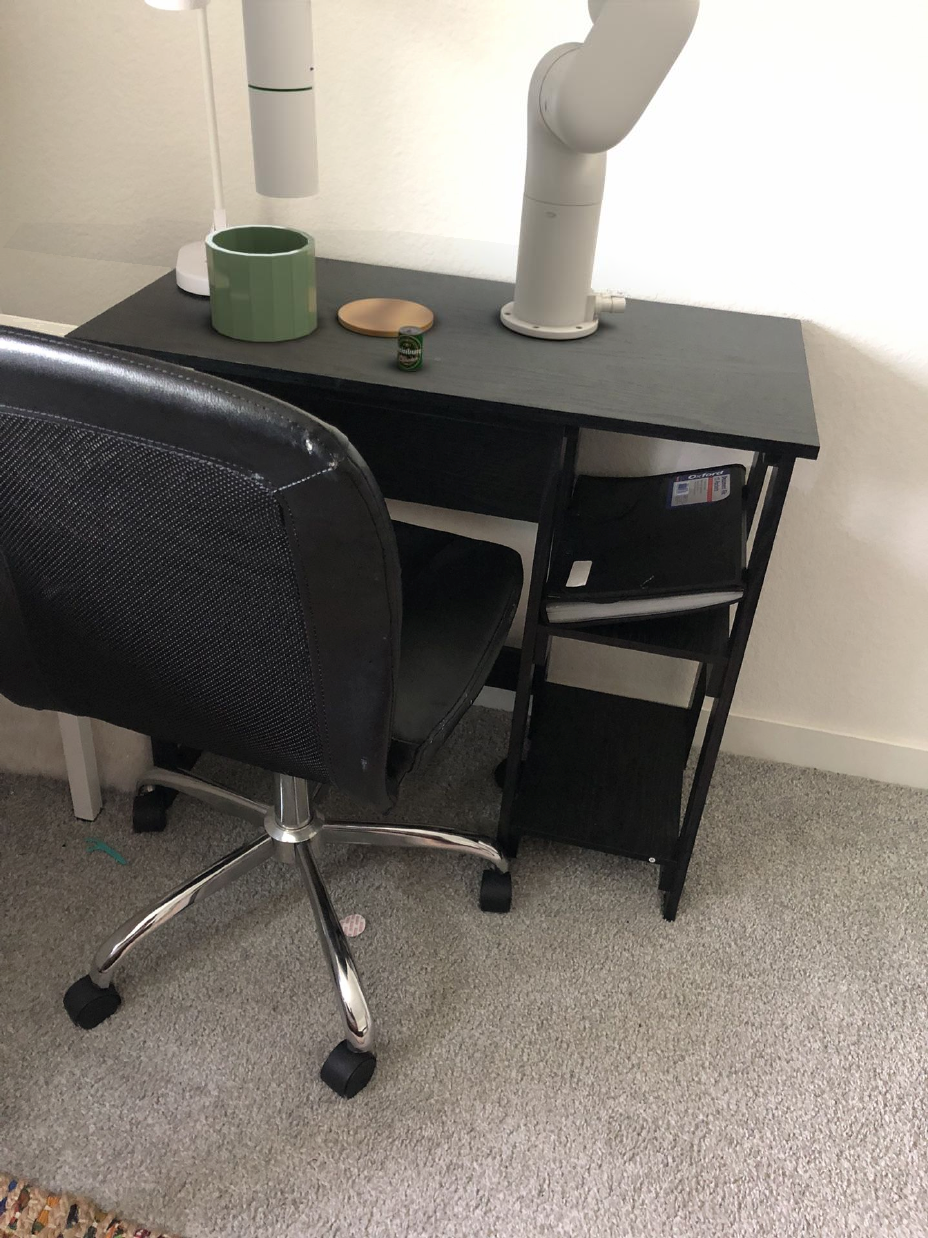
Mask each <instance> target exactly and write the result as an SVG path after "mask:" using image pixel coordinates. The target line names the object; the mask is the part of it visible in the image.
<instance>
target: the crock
mask: <svg viewBox="0 0 928 1238" xmlns="http://www.w3.org/2000/svg"><path fill="white" fill-rule="evenodd" d="M204 245H205V257H206V268H207V278H208V279H207V280H208V290H209V301H210V302H209V303H210V312H211V323H212V324H211V325H212V327H213V329H215V331H217V332H218V333H219V334H221V335H223V336H226V337H229V338H231V339H234V340H235V339H236V340H240V341H248V342H254V343H255V342H256V343H260V342H261V343H276V342H283V341H291V340H296V339H298V338H299V339H300V338H302V337H304V336H308V335H310V334H311V333H312V332H314V330H316V329H317V328H318V308H317V307H318V306H317V303H318V302H317V301H318V300H317V269H316V267H317V266H316V238H315V237H313V236H312V235H311V234H309V233H308V232H306V231H303V230H299V229H297V228H292V227H289V226H280V225H270V224H247V225H246V224H245V225H236V226H235V225H234V226H228V227H223V228H220V229H216V230H214V231H212V232H211V233H209V234H207V235H206V236H205V241H204Z"/></svg>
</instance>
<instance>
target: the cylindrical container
mask: <svg viewBox="0 0 928 1238" xmlns="http://www.w3.org/2000/svg"><path fill="white" fill-rule="evenodd" d="M241 11H242V23H243V24H242V25H243V37H244V49H245V50H244V52H245V65H246V76H247V78H246V79H247V90H248V106H249V116H250V117H249V118H250V129H251V131H250V132H251V142H252V143H251V144H252V157H253V169H254V171H253V172H254V183H255V192H256V193H257V194H259V195H261V196H263V197H269V198H275V199H301V198H308V197H312V196H315V195H317V194H318V193H319V192H320V190H319V189H320V187H319V186H320V185H319V165H318V140H317V138H318V137H317V115H316V112H317V111H316V92H315V90H316V89H315V88H316V87H315V68H314V66H315V65H314V64H315V63H314V39H313V20H312V17H313V16H312V0H241Z"/></svg>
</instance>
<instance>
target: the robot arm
mask: <svg viewBox="0 0 928 1238" xmlns="http://www.w3.org/2000/svg"><path fill="white" fill-rule="evenodd" d="M700 5H701V0H587V9H588V14H589V17H590V20H591V23H592V26H591V28H590V30H589V32H588V34H587V35H586V37H585V39H584V41H583V42H579V41H569V42H564V43H561V44H559V45H556V46H554V47H552V48H551V49H550V50H548V51H547V52H546V53H545V54H544V55H543V56H542V58H541V59H539V61H538V62H537V64H536V65H535V67H534V70H533V72H532V75H531V77H530V81H529V85H528V91H527V101H526V102H527V103H526V104H527V105H526V108H527V109H526V112H527V113H526V121H527V122H526V134H527V135H526V138H527V139H526V160H525V162H526V163H525V172H524V184H523V185H524V186H523V193H522V206H521V215H520V228H519V239H518V250H517V262H516V273H515V283H514V295H513V301H510V302H507V303H506V304H505V305H504V306H502V308H501V309H500V316H499V318H500V321H501V323H502V324H503V325H504V326H505V327H506V328H508V329H509V330H511V331H514V332H516V333H518V334H522V335H525V336H528V337H533V338H537V339H546V340H572V339H573V340H574V339H580V338H584V337H587V336H590V335H591V334H593V333H595V331H596V330H597V329H598V327H599V317H598V316H600V315H601V314H602V313H609V314H624V313H625V311H626V306H627V302H626V298H625V297H618V296H617V297H615V296H614V297H613V296H612V294H611V293H610V292H600V293H595V291H594V290H593V288H592V280H593V279H592V278H593V274H594V273H593V272H594V265H595V257H596V250H597V241H598V236H599V234H598V233H599V226H600V220H601V213H602V204H603V199H604V192H605V184H606V174H607V162H608V161H607V158H608V151H610V150H611V149H613V148H615V147H616V146H618V145H619V144H620V143H621V142H622V141H623V140H624V139H626V137H627V136H628V135H629V134H630V133H631V132H632V130H633V129H634V128H635V126H636V125H637V123H638V122H639V121H640V119H641V118H642V116H643V115H644V113H645V112H646V110H647V108H648V107H649V105H650V103H651V101H652V100H653V99H654V97H655V96H656V94H657V92H658V91H659V89H660V87H661V86H662V84H663V82H664V81H665V79H666V77H667V76H668V75H669V73H670V71H671V70H672V68H673V66H674V64H675V63H676V61H677V59H678V58H679V56H680V55H681V53H682V52H683V50H684V48H685V46H686V44H687V42H688V41H689V39H690V37H691V34H692V33H693V30H694V28H695V25H696V22H697V19H698V16H699V11H700Z"/></svg>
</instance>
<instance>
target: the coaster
mask: <svg viewBox="0 0 928 1238" xmlns="http://www.w3.org/2000/svg"><path fill="white" fill-rule="evenodd" d="M337 315H338V316H337V317H338V322H339V324H340V325H341V326H342V327H344V328H345V329H347V330H349V331H351V332H354V333H357V334H361V335H364V336H370V337H376V338H377V337H379V338H398V333H399V329H400V328H401V327H404V326H415V327H419V328H421V329H422V331H423V332H422V333H425V332H427V331H428V330H430V329H431V328H432V326H433V325H434V320H435V315H434V314H433V312H432V311H431V310H430V309H429V308H427V307H426V306H424V305H422V304H419V303H416V302H413V301H409V300H403V299H397V298H385V297H383V298H381V297H380V298H379V297H377V298H375V297H374V298H365V299H359V300H354V301H351V302H349V303H346V304H343V306H342V307H340V309H339V310H338V314H337Z"/></svg>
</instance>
